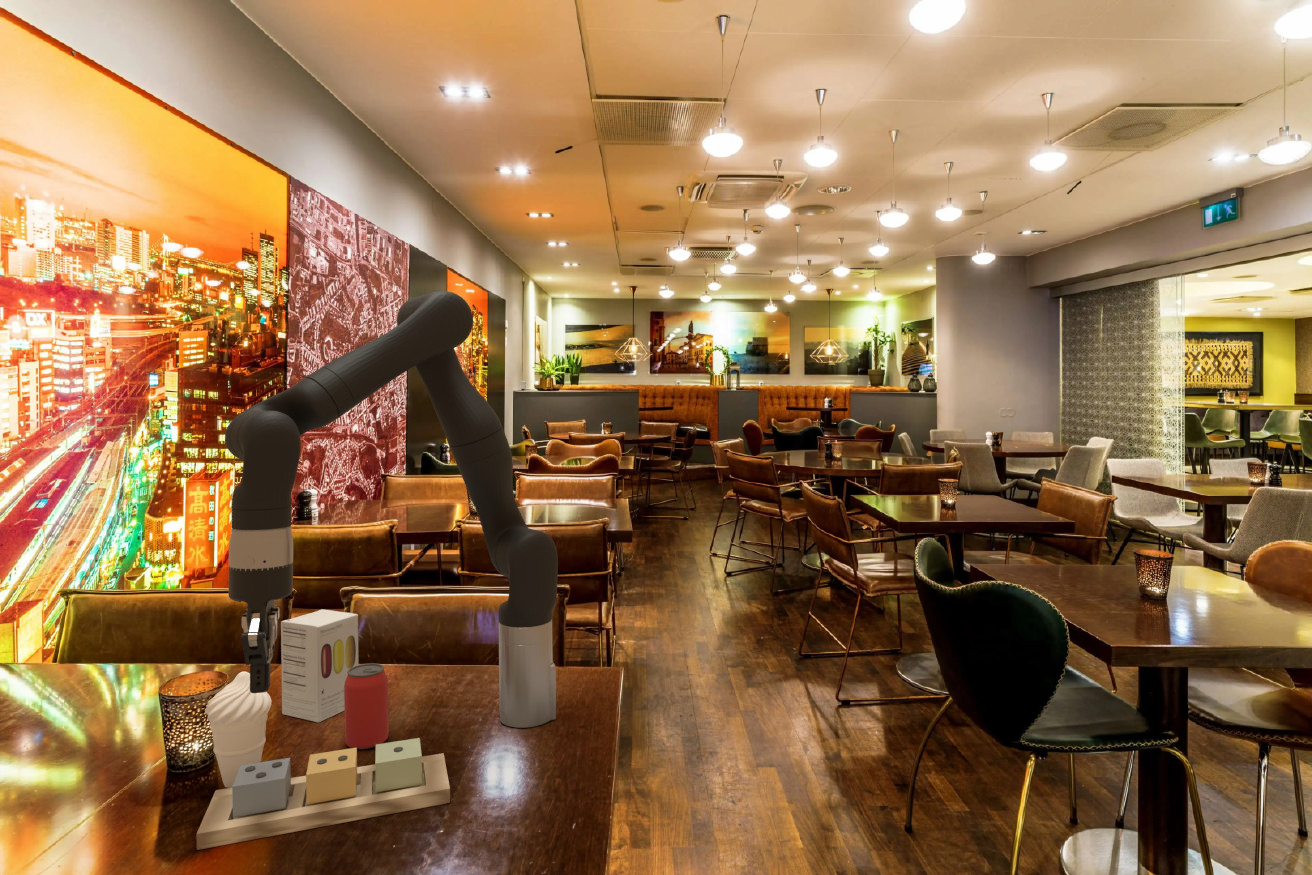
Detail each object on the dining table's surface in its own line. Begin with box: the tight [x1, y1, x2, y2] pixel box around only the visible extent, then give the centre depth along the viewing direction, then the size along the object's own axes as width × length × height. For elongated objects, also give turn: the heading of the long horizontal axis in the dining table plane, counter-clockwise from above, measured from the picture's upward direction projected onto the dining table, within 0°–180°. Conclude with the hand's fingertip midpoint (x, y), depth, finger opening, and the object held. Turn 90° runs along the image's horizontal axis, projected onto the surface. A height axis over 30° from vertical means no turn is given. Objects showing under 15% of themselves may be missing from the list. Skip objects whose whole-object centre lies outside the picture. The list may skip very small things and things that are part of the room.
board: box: [196, 752, 451, 850], centre depth 100 cm, size 30×11×2 cm, turn 111°
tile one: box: [374, 737, 423, 792], centre depth 102 cm, size 6×6×4 cm
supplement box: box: [280, 608, 359, 723], centre depth 131 cm, size 10×9×17 cm
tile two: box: [305, 747, 358, 804], centre depth 99 cm, size 6×6×4 cm
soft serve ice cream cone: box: [204, 671, 272, 789], centre depth 105 cm, size 8×8×16 cm
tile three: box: [232, 757, 292, 818], centre depth 96 cm, size 6×6×4 cm
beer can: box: [344, 662, 390, 750], centre depth 118 cm, size 7×7×12 cm
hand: (260, 690), depth 97 cm, fingers closed
